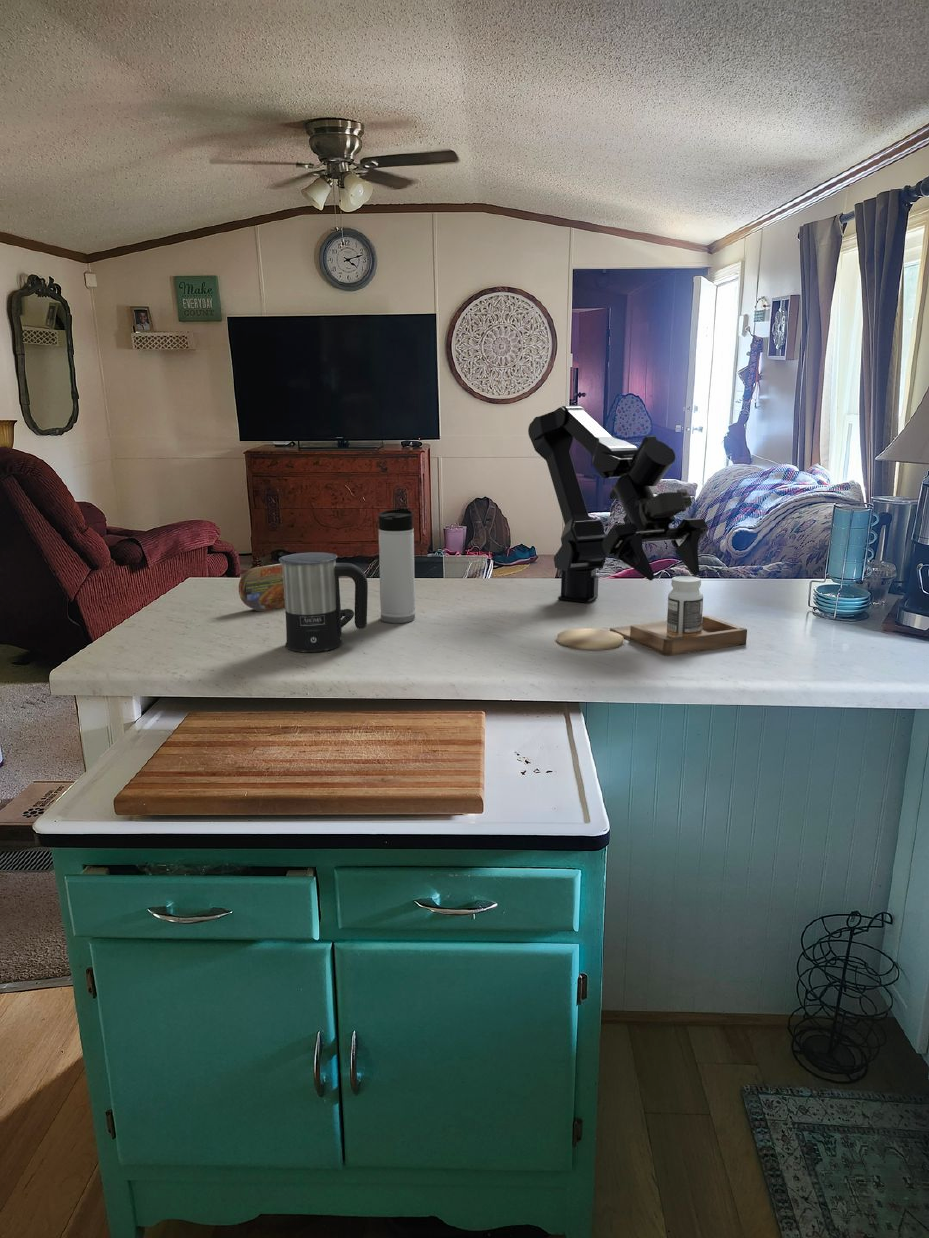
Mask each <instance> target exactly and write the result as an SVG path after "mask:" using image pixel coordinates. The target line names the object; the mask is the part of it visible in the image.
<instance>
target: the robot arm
mask: <svg viewBox="0 0 929 1238" xmlns="http://www.w3.org/2000/svg"><path fill="white" fill-rule="evenodd" d="M528 438H529V439H530V441H531V444H532V447H533V448H534V451H535V452H536V453H537V454H538V455H539V456H540V457H541V458H543V460H545V462H546V465H547V468H548V471H549V475H550V478H551V482H552V485H553V489H554V491H555V495H556V498H557V502H558V506H559V509H560V513H561V516H562V520H563V522H564V527H563V530H562V534H561V536H560V541H561V546H560V547H559V549H558V550H557V552H556V553H555V555H554V556H553V564H554V567H555V569H558V570H560V571H561V575H560V577H561V578H560V580H561V581H560V594H559V595H558V596H557V600H560V601H570V602H580V603H590V602H591V601H593V600H594V599H596V598H597V597H599V576H598V575H597V569H603V568H604V567H605V561H606V558H607V557H609V556H610V557H611V556H612V558H614V559H615V560H619V561H621V562H623V563H624V564H626V565H627V566H629V567H630V568H632V569H633V570H635V571H636V572H638V573H639V574H640V575H642V576H643V577H644V578H646V579H647V580H648V581H653V580H654V579H655V574H654V570H653V568H652V566H651V564H650V561H649V559H648V557H647V555H646V553H645V551H644V548H643V543H657V542H667V541H668V542H669V541H670V542H671V544H672V547H674V548H676V550H675V551H674V552H675V554H676V556H678V558H679V559H680V560H681V562H683V564H684V566H685V567H686V568H687V570H689V572H690V573H691V574H692V575H693V577H698V575H699V574H700V564H699V563H700V562H699V561H700V560H699V554H698V550H699V549H698V548H699V547H698V546H699V542H700V541H701V540H702V538H703V537H704V535H706V534H707V532H708V531H709V530H710V529H709V526H708V525H707V522H706V521H705V519H704V518H699V517H695V518H683V519H682V520H681V522H680V523H679V524H678V525H677V527H673V528H670V526H669V525H670V524H673V523H674V522H675V521H676V518H675V516H676V515H678V514H680V513H683V512H685V511H687V509H688V508H690V507H691V506H692V503H693V502H692V501H693V500H692V498H691V495H690V493H689V492H688V490H687V489H686V488H683V489H682V488H681V489H676V491H672V492H670V491H669V492H662V493H659V494H656V495H654V492H653V491H652V489H651V487H655V486H657V485H659V483H660V482H661V480H662V479H663V478H664V476H665V474H666V473H667V472H668V470H669V469H670V468H671V466H672V465H673V463H674V462H675V460H676V453H675V451H674V450H673V448H671V447H670V446H669V445H667V444H666V443H664V442H662V441H660V440H658V438H657V437H656V436H655V435H649V436H644V438H643V440H642V441H641V443H640V445H639V446H638V447H637V446H636V445H634V444H632V443H631V442H629V441H626V440H622V439H620V438H616V437H613V436H612V435H611V434H610V433H609V432H607V431H606V430H605V429H604V428H603V427H602V426H601V425H600V424H599V423H598V422H597V421H596V420H594V419H593V418H592V417H591V416H590V415H589V414H588V413H587V412H586V409H585V407H583V406H580V405H562V406H560V407H558V408H556V409H555V410H554V411H553V410H552V411H550V412H547V413H545V414H542V415H539V416H535V417H534V418H533V420H532V421H531V422H530V423H529V425H528ZM574 439H575V440H576V441H577V442H578V443H579V444H580V445H581V446H582V447H583V448H584V449H585V450H586V451H587V452H588V453H589V454H590V456H592V463H591V464H592V465H593V467H594V468H595V470H596V472H597V473H598V475H599V476H600V477H601V478H603V479H617V481H616V482H615V484H612V485H611V491H610V492H609V496H608V498H609V500H611V501H612V500H613V501H614V500H618V501H619V503H620V505H621V508H622V509H623V510H624V514H625V516H624V517H623V519H622V520H623V522H624V523H614V524H613V526H612V527H611V528H610V529H609V531H608V532H607V534H606V533H605V530H604V526H603V522H602V521H601V520H600V519H594V520H593V518H591V517H590V515H589V512H588V509H587V506H586V502H585V499H584V496H583V495H584V494H583V493H582V489H581V486H580V482H579V479H578V476H577V472H576V470H575V466H574V461H573V459H572V457H571V453H570V451H571V449H572V446H573V442H574Z"/></svg>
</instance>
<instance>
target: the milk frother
mask: <svg viewBox="0 0 929 1238" xmlns="http://www.w3.org/2000/svg"><path fill="white" fill-rule="evenodd" d="M337 558H338V555H337V554H335V553H331V552H318V551H317V552H316V551H315V552H314V551H312V552H300V553H298V552H297V553H292V554H287V555H284V556H281V557H279V558H278V562H279V564H281V565H282V571H283V585H284V599H285V607H284V609H285V611H284V612H285V628H286V630H285V631H286V633H285V634H286V642H285V644H284V646H285V648H286V649H287V650H289V651H293V652H297V653H298V652H299V653H317V652H325V651H329V650H333V649H336V648H338V647H340V646H341V645H342V644H343V641H342V639H341V635H342V633H343V631H342V628H343V627H344V626H346V625H347V624H348V623H349V622H350V621H352V619H353V618H354V625H355V627H356V628H357V630H363V629H365V628H366V627H367V624H368V593H369V591H368V589H369V588H368V584H369V583H368V578H367V576H366V574H365V572H364V571H363V569H362V568H360V566H358V565H356V564H353V563H351V562H349V563H348V562H336V560H337ZM340 577H349V578H351V580H353V582H354V610H353V609H351V608H344V609H343V608H342V609H341V607H342V606H341V594H340V593H341V591H340Z"/></svg>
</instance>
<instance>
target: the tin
mask: <svg viewBox="0 0 929 1238" xmlns="http://www.w3.org/2000/svg"><path fill="white" fill-rule="evenodd" d="M238 594H239V598H240V600H241V602H242V603H243V604H244V605H246V606H247V607H248V608H250V609H253V610H255V611H257V612H264V611H270V610H276V609H281V608H285V599H284V585H283V571H282V565H281V563H275V564H271V565H270V564H268V565H264V566H256V567H252V568H250V569H248V570H246V571H245V572H244V573H243V575H242V576H241V578H240V580H239V583H238Z"/></svg>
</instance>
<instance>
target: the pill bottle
mask: <svg viewBox="0 0 929 1238" xmlns="http://www.w3.org/2000/svg"><path fill="white" fill-rule="evenodd" d="M670 586H671V587H672V590H670V591H669V593H668V595H667V619H666V621H667V635H668V636H669V637H670V638H675V637H683V636H690V635H697V634H702V618H703V610H704V608H703V607H704V594H703V593H702V592H701V591H700V588H701V586H702V579H701V578H700V577H698V576H694V575H693V576H692V575H691V576H690V575H680V576H679V575H678V576H674V577H672V578H671V585H670Z"/></svg>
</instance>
